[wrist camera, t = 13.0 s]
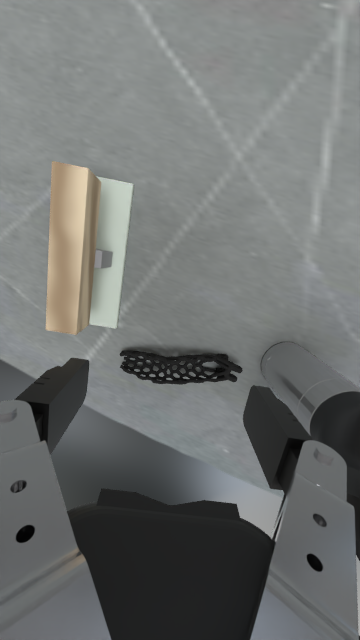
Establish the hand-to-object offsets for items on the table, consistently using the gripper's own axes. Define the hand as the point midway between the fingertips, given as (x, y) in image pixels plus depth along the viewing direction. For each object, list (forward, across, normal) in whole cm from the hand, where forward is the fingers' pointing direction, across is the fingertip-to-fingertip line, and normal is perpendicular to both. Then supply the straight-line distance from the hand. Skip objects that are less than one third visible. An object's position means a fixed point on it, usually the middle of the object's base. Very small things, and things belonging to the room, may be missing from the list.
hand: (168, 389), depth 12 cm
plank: (+25, +14, -4) cm, 29 cm away
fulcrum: (+32, +14, -4) cm, 35 cm away
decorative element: (+33, -4, +13) cm, 35 cm away
